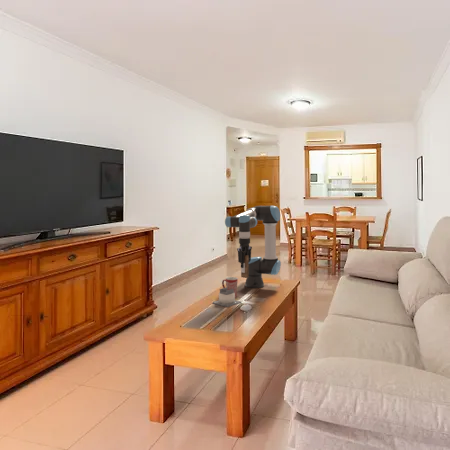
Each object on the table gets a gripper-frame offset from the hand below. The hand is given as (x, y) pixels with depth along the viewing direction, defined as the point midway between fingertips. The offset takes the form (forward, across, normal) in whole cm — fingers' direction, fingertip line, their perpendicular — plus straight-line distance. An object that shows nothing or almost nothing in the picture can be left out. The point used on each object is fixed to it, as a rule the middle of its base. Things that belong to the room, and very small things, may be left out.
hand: (244, 272), depth 287 cm
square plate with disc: (+22, +8, -10) cm, 25 cm away
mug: (+22, -8, -20) cm, 31 cm away
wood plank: (+4, 0, 0) cm, 4 cm away
